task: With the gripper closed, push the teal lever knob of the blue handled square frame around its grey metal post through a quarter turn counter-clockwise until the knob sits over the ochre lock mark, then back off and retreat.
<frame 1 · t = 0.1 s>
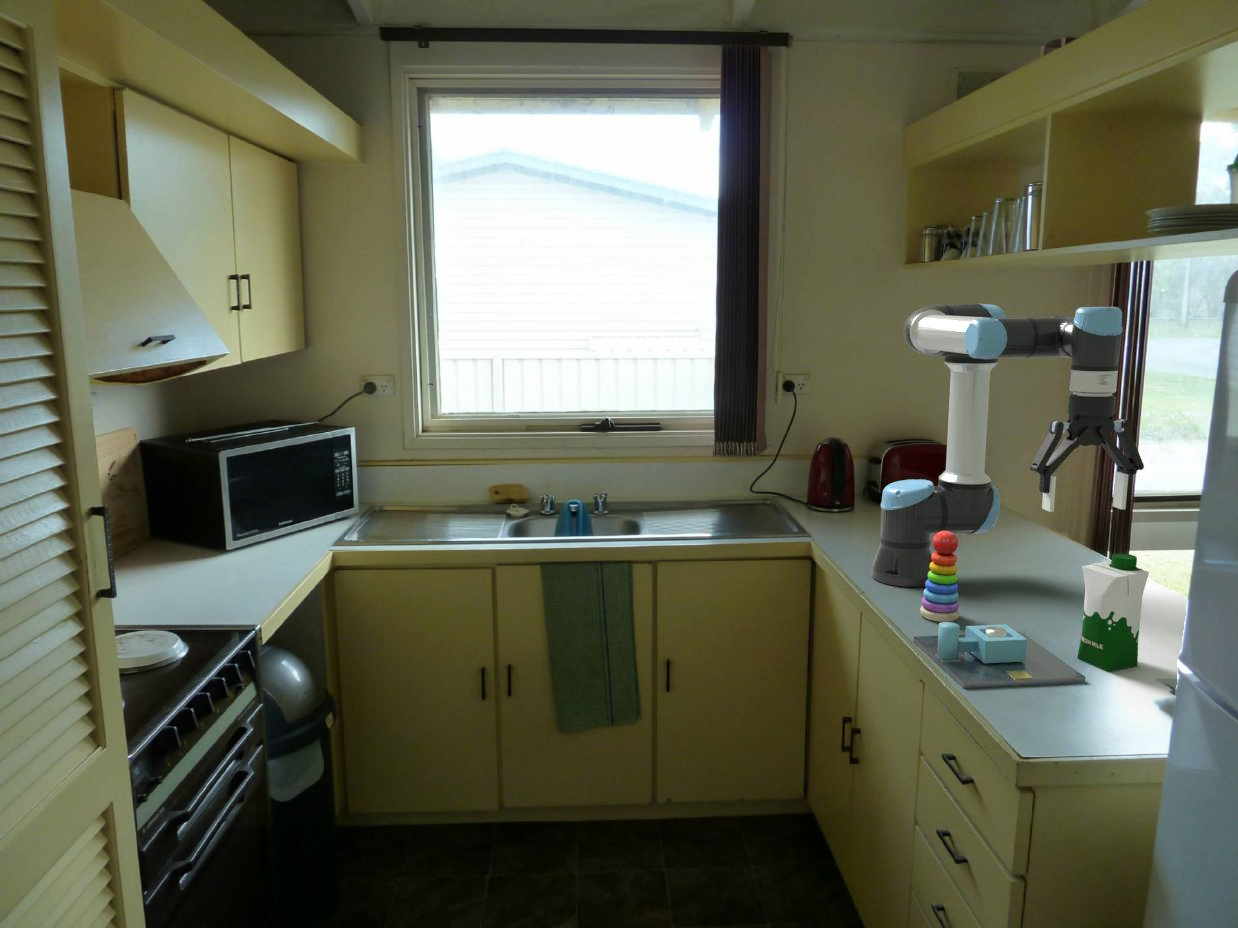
hand: (1083, 509, 168), 28 cm above the counter, fingers open, 13 cm apart
stacking toy: (939, 617, 194), on the counter
milk carton: (1106, 663, 169), on the counter
post plate: (994, 660, 170), on the counter
blue handled square frame: (977, 639, 169), point 4 cm above the counter, hinge at 0.0°
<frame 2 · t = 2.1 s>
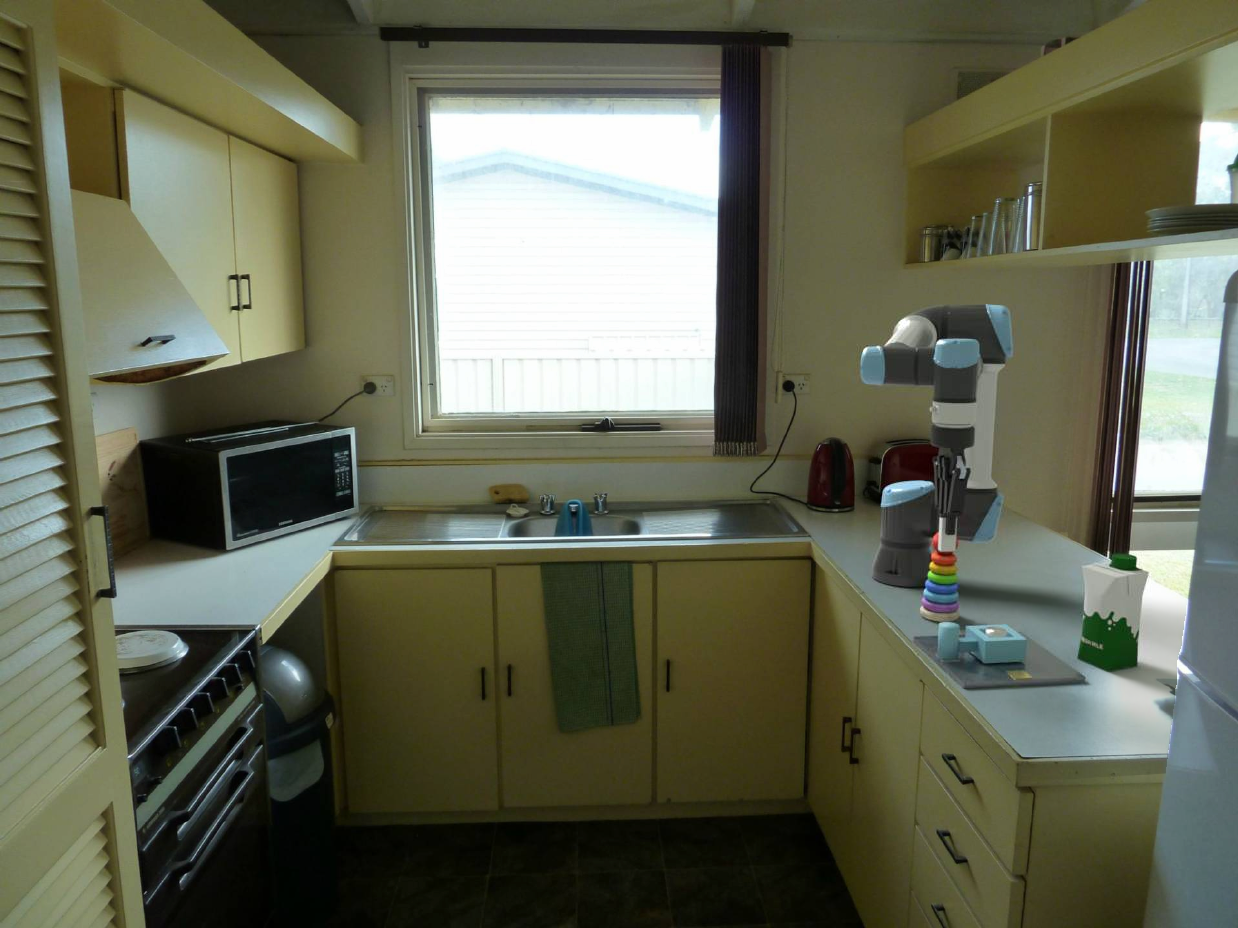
hand: (946, 550, 170), 20 cm above the counter, fingers closed
nothing on the counter moved.
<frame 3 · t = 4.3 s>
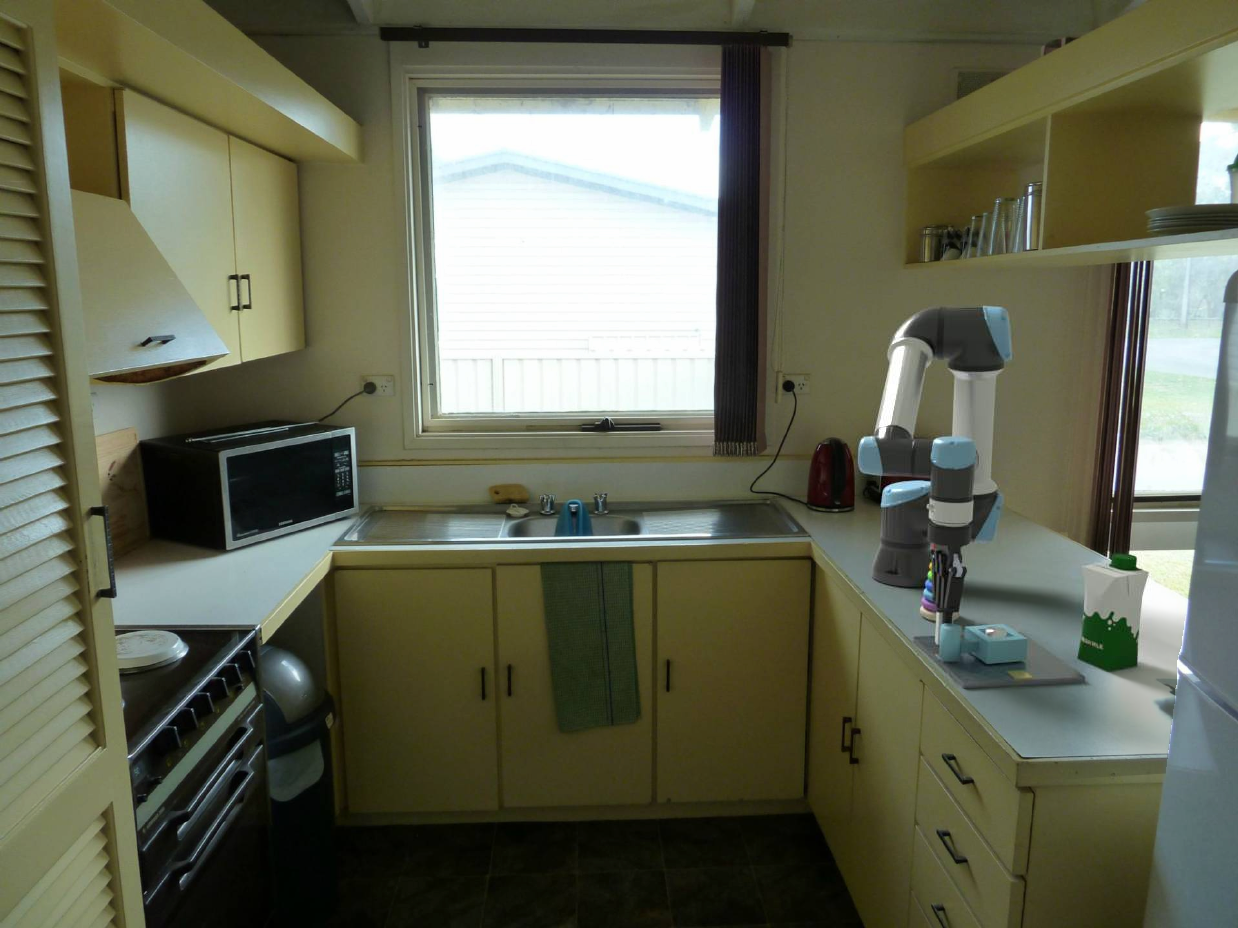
hand: (943, 643, 172), 3 cm above the counter, fingers closed
blue handled square frame: (978, 640, 169), point 4 cm above the counter, hinge at 4.7°, touching gripper
everything else where it was.
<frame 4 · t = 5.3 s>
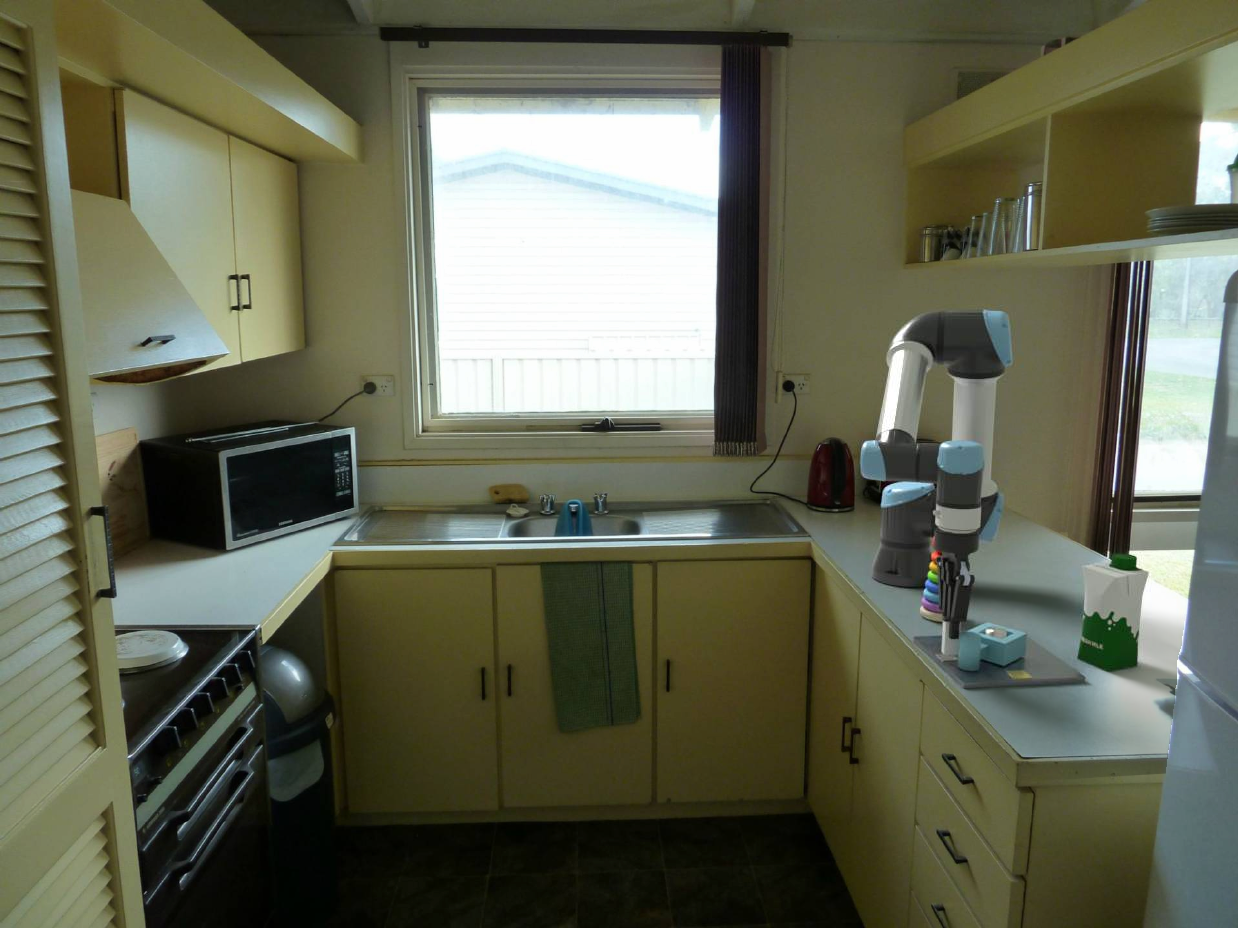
hand: (950, 653, 168), 3 cm above the counter, fingers closed
blue handled square frame: (985, 643, 167), point 4 cm above the counter, hinge at 34.6°, touching gripper
everything else where it was.
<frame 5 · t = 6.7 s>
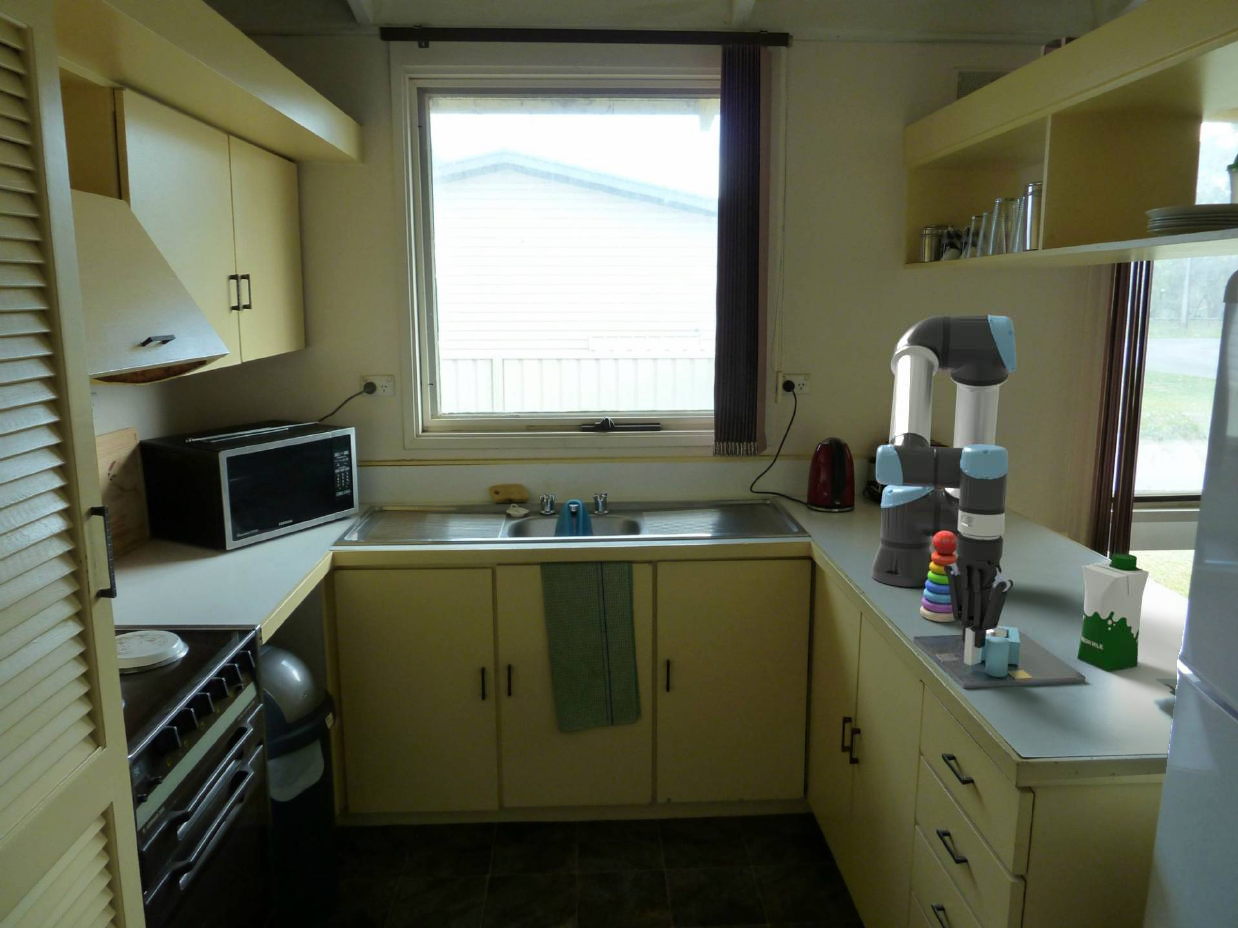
hand: (972, 662, 163), 3 cm above the counter, fingers closed
blue handled square frame: (996, 645, 166), point 4 cm above the counter, hinge at 65.2°, touching gripper
everything else where it was.
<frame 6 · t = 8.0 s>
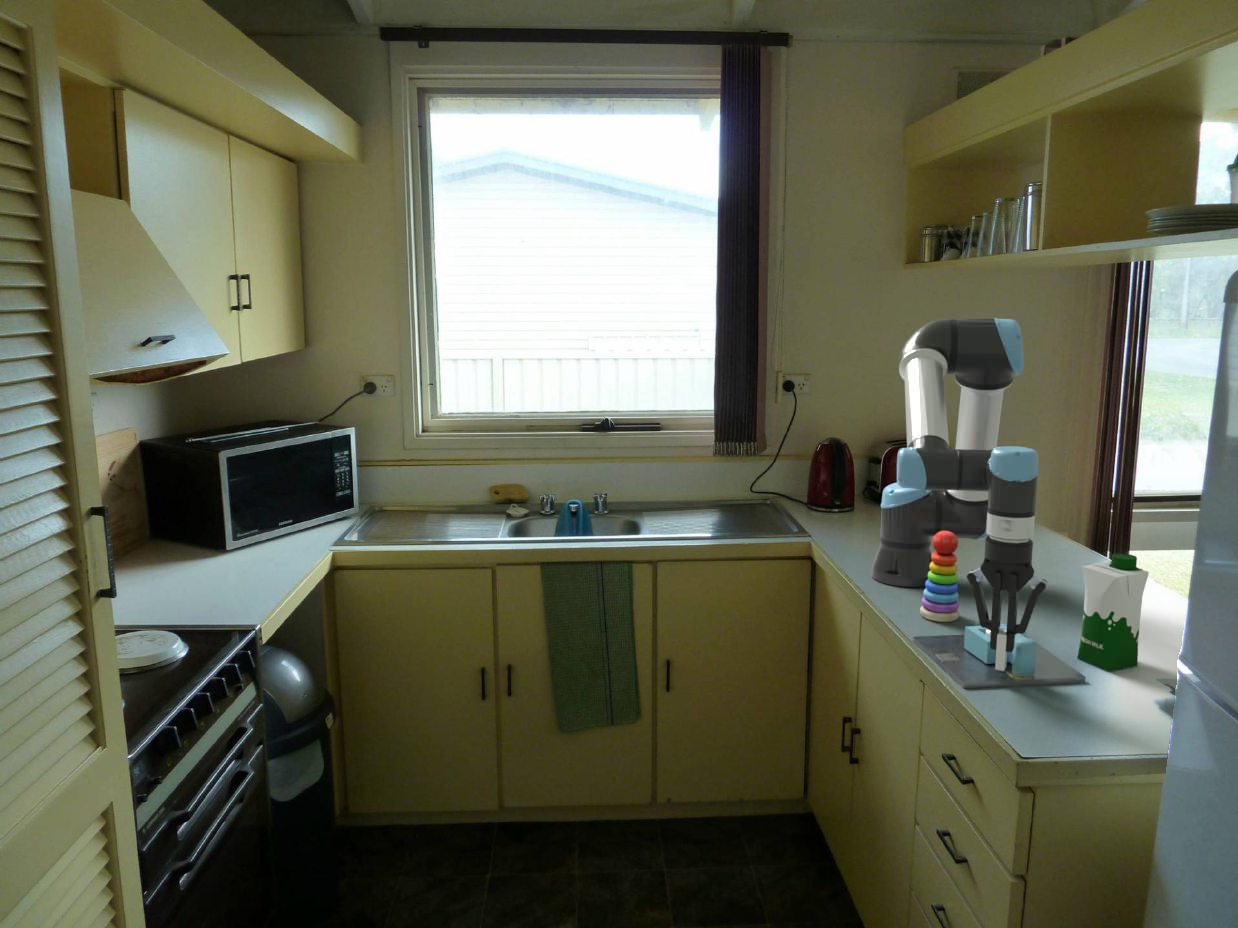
hand: (1000, 667, 161), 3 cm above the counter, fingers closed
blue handled square frame: (1006, 645, 166), point 4 cm above the counter, hinge at 94.5°, touching gripper
everything else where it was.
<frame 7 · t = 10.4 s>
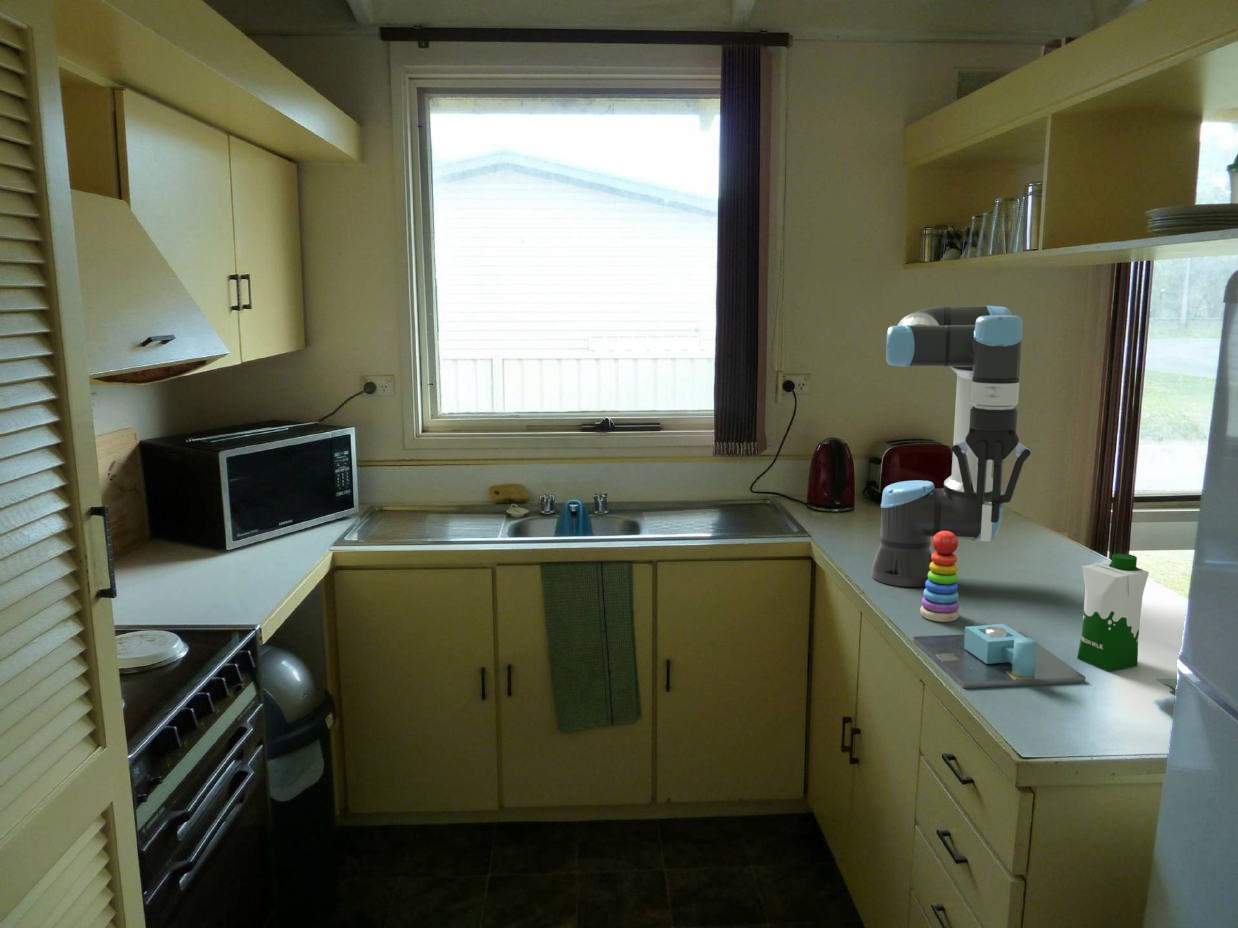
hand: (985, 539, 161), 25 cm above the counter, fingers closed
blue handled square frame: (1006, 645, 166), point 4 cm above the counter, hinge at 94.7°
everything else where it was.
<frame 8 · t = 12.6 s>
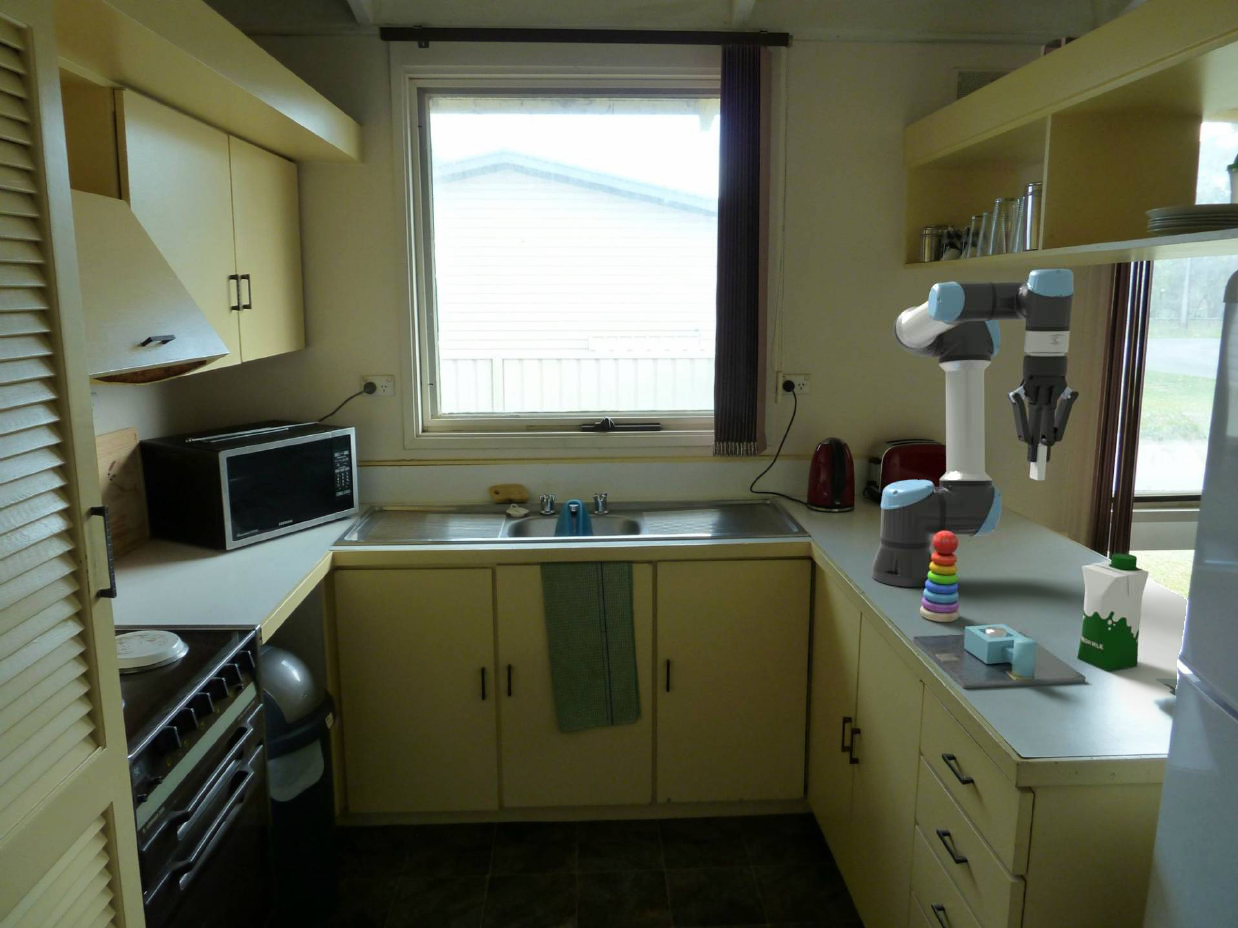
hand: (1037, 478, 174), 32 cm above the counter, fingers closed
nothing on the counter moved.
at the end: blue handled square frame at +95° (first picture: +0°); the gripper is holding nothing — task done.
